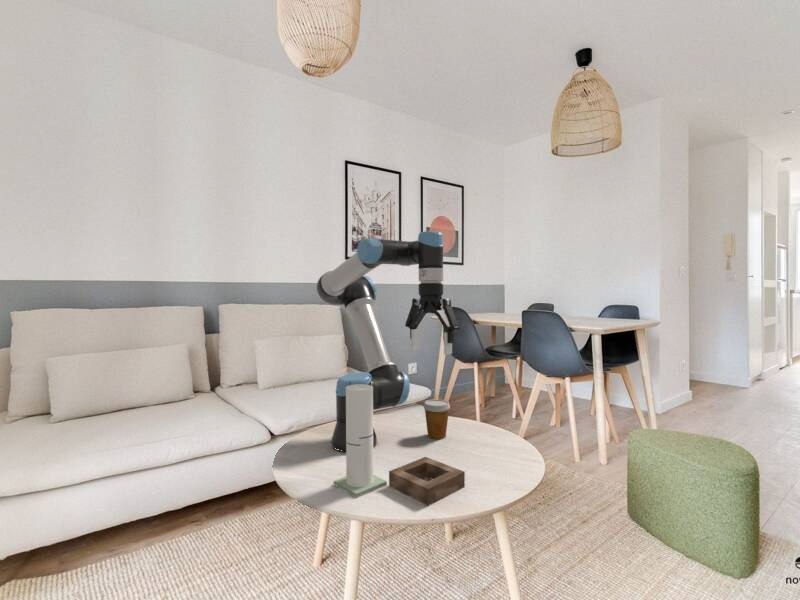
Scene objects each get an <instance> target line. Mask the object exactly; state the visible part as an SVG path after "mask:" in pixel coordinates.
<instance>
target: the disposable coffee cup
mask: <svg viewBox="0 0 800 600" xmlns="http://www.w3.org/2000/svg"><path fill="white" fill-rule="evenodd" d="M422 407H423V409H424V414H425V422H426V430H427V437H428V438H430V439H432V440H433V439H434V440H442V439H445V438H446V437H447V430H448V429H447V428H448V421H449V413H450V408H451V405H450V402H449V401H448V400H444V399H435V398H433V399H428V400H425V401H424V404H423V406H422Z"/></svg>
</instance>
